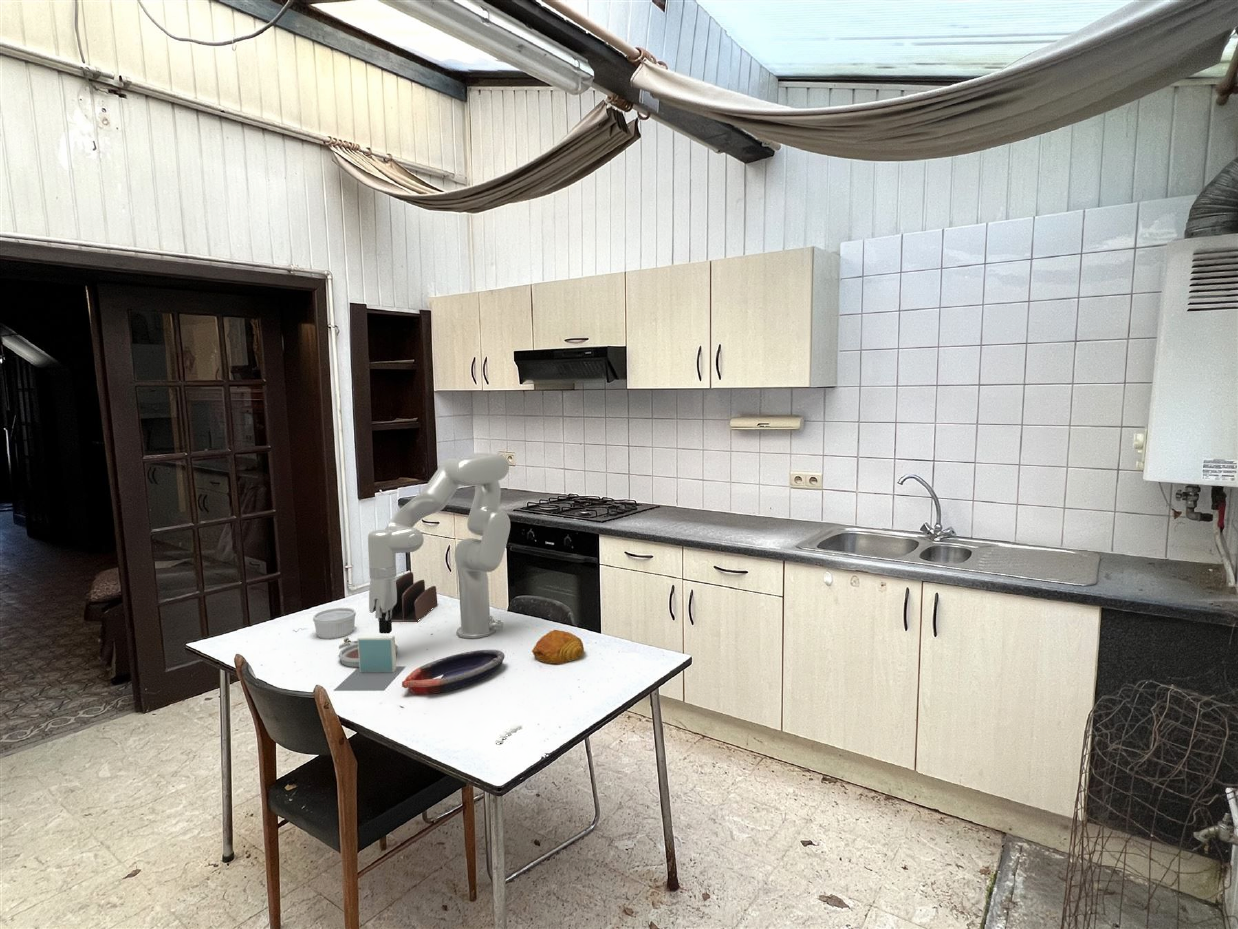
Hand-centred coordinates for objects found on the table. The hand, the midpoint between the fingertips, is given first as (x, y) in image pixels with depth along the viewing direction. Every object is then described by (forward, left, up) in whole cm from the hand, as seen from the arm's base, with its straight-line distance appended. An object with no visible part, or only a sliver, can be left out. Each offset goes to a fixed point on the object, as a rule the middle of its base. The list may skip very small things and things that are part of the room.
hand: (385, 632), depth 200 cm
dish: (-24, +13, -10) cm, 29 cm away
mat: (0, +13, -9) cm, 16 cm away
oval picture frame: (+11, -6, -9) cm, 15 cm away
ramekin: (+28, -24, -9) cm, 38 cm away
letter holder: (+8, -44, -10) cm, 46 cm away
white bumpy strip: (-46, +44, -10) cm, 64 cm away
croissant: (-50, -4, -10) cm, 52 cm away
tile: (0, +8, -9) cm, 11 cm away
